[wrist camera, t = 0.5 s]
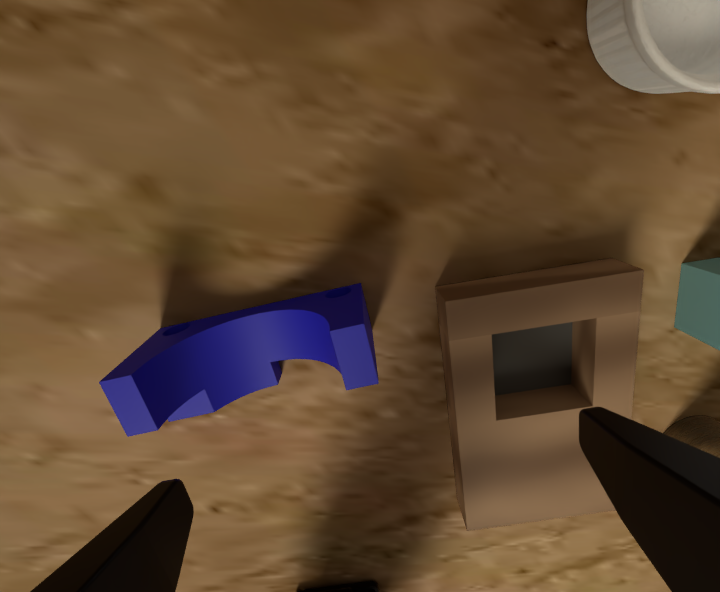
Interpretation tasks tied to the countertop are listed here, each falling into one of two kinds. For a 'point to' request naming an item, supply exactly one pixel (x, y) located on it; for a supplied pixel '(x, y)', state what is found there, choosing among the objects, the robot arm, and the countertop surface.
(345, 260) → the countertop surface
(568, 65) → the countertop surface
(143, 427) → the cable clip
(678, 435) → the round peg
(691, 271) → the square peg
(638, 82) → the ramekin
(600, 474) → the robot arm
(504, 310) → the socket board
